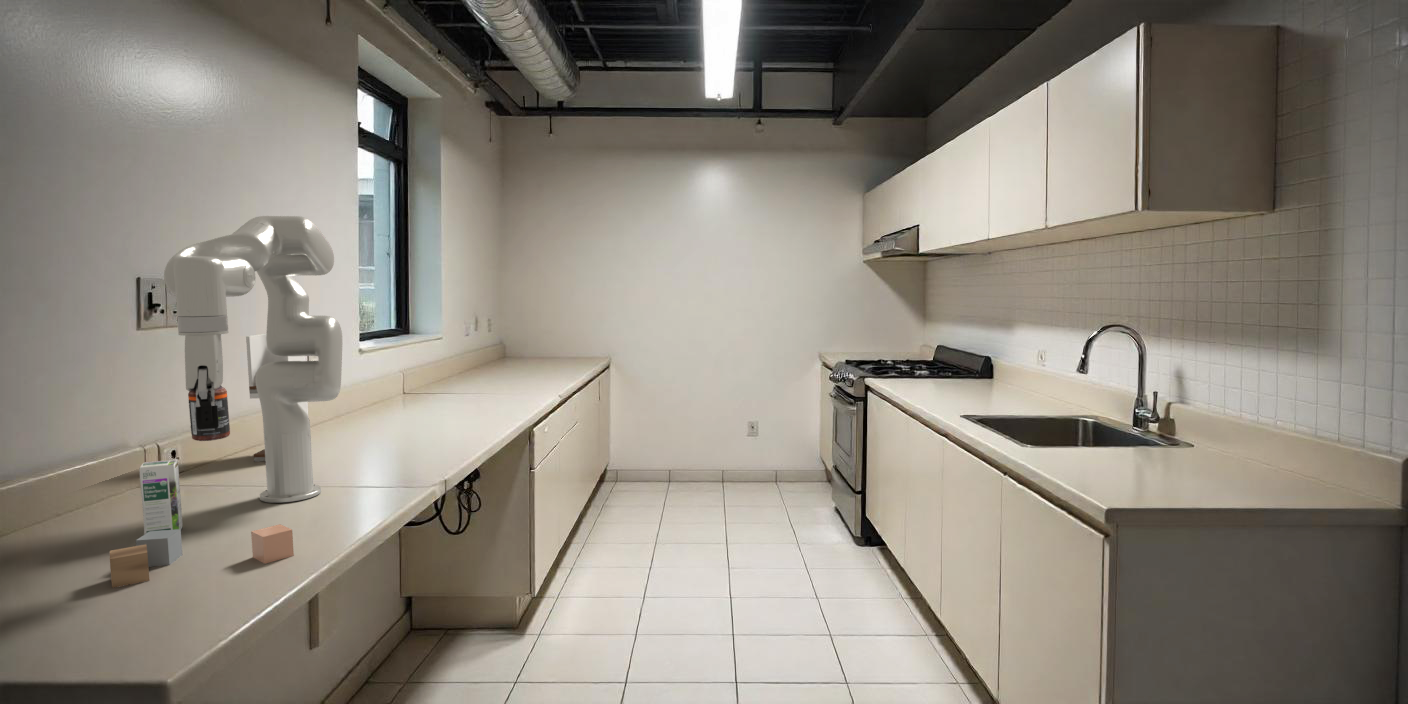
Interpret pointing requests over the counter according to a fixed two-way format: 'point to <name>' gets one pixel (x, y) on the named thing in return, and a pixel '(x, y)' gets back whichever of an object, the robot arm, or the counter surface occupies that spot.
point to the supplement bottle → (223, 417)
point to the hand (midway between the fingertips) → (210, 424)
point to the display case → (256, 359)
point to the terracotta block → (272, 543)
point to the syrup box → (161, 495)
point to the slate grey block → (162, 546)
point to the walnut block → (129, 565)
